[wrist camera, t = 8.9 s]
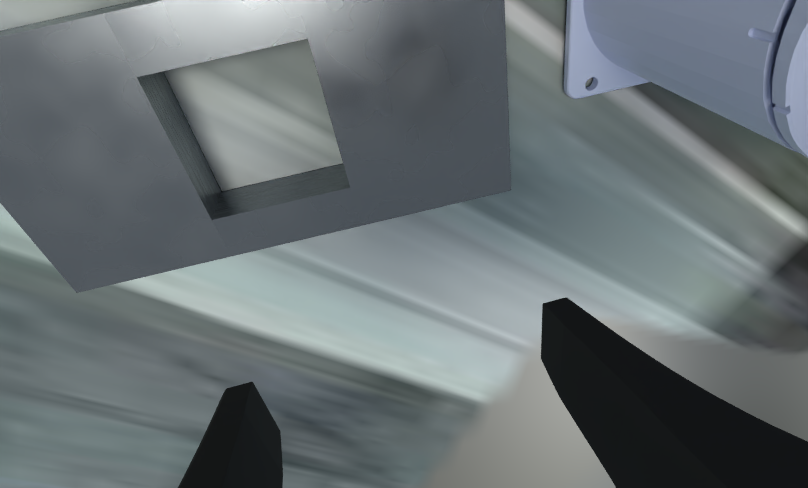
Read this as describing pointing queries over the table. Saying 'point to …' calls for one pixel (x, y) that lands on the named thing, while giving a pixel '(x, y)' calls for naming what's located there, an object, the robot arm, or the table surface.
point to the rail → (181, 155)
